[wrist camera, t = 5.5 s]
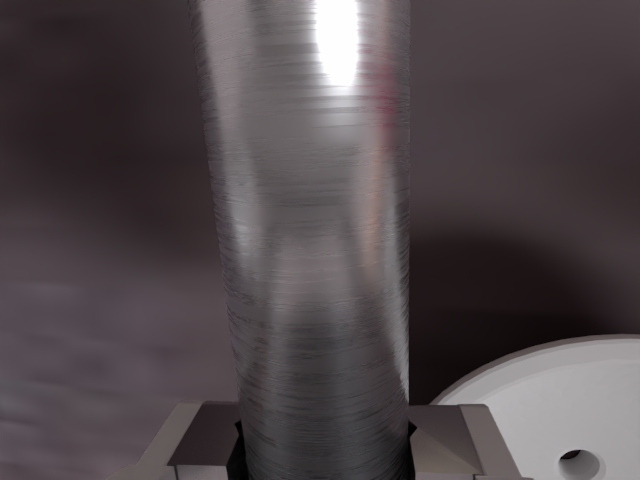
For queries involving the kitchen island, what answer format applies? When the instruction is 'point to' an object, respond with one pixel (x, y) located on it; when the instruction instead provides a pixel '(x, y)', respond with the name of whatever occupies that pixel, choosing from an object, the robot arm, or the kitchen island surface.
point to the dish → (564, 406)
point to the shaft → (312, 226)
